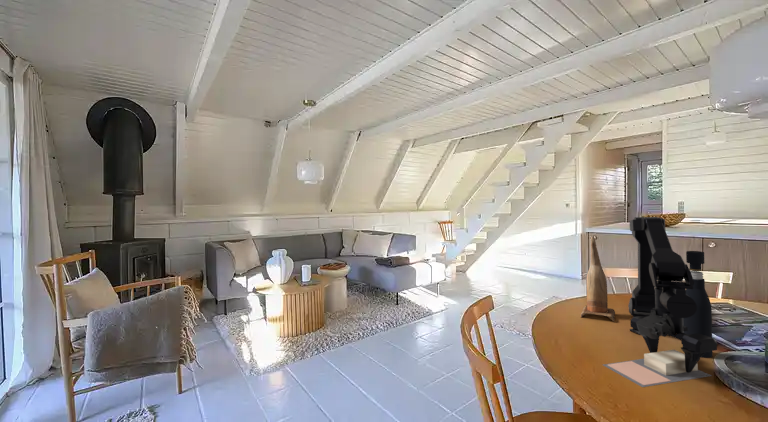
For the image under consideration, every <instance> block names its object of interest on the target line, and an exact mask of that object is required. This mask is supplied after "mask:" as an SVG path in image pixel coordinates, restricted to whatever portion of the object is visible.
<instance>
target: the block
mask: <svg viewBox="0 0 768 422" xmlns="http://www.w3.org/2000/svg"><path fill="white" fill-rule="evenodd" d="M643 359H644V365H646V366H648V367H650V368H652V369H654V370H656V371H658V372H660V373H662V374H664V375H672V374H678V373H684V372H686V369H685V353H684V352H681V351H678V350H677V349H668V350H662V351H657V352H654V353H650V352H649V353H648V352H647V353H643ZM698 363H699V361H698V362H697V364H696V365H695V367H694V368H693V370H692V371H697V370H699V367H698V366H699V365H698Z"/></svg>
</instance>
